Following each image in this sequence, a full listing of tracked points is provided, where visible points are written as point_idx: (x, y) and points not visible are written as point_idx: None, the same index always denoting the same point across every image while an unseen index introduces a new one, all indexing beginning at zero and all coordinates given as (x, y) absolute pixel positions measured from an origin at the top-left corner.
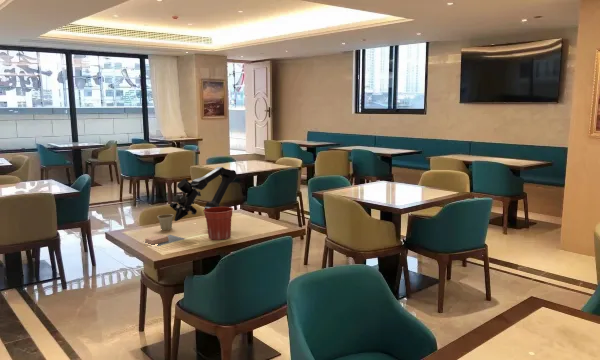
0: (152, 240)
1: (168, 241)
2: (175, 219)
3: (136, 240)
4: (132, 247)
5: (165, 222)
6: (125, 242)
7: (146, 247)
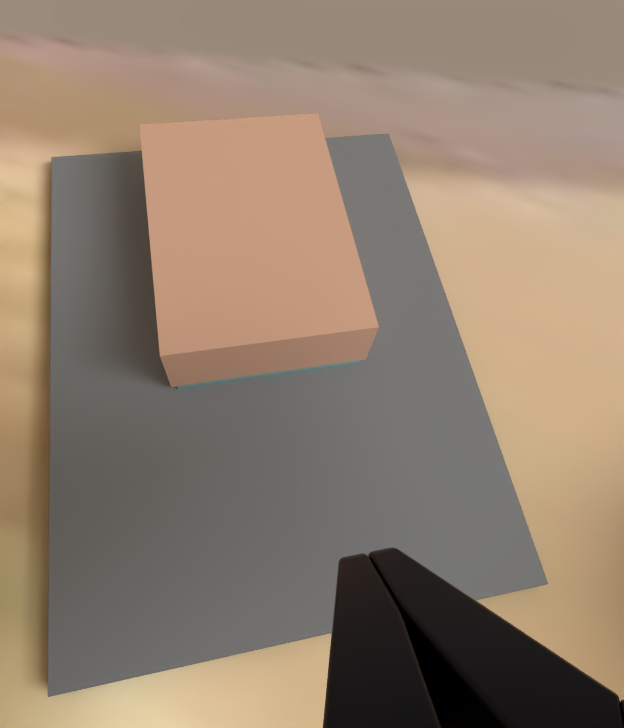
0: (143, 126)
1: (150, 376)
2: (352, 574)
3: (552, 178)
4: (295, 64)
5: None
6: (536, 93)
7: None
